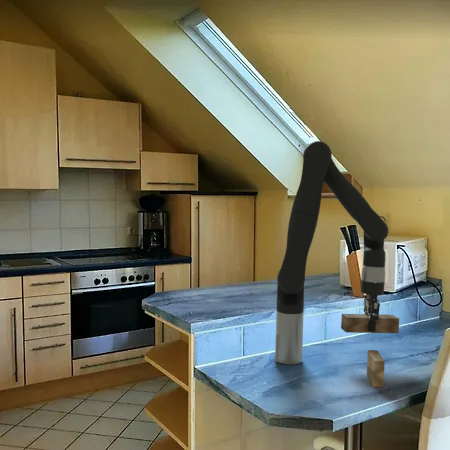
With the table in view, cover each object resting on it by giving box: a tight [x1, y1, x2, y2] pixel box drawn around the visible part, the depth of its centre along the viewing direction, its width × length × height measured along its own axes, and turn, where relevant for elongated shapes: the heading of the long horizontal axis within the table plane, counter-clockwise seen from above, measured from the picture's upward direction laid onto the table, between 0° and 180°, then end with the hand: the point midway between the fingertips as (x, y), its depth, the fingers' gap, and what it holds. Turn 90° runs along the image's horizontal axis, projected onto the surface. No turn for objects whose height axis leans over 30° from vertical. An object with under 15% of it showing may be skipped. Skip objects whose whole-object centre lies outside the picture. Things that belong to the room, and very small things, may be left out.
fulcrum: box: [366, 349, 385, 388], centre depth 148 cm, size 3×10×8 cm, turn 174°
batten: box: [340, 313, 400, 334], centre depth 162 cm, size 18×5×5 cm, turn 96°
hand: (369, 328), depth 162 cm, fingers closed on batten, 5 cm apart
